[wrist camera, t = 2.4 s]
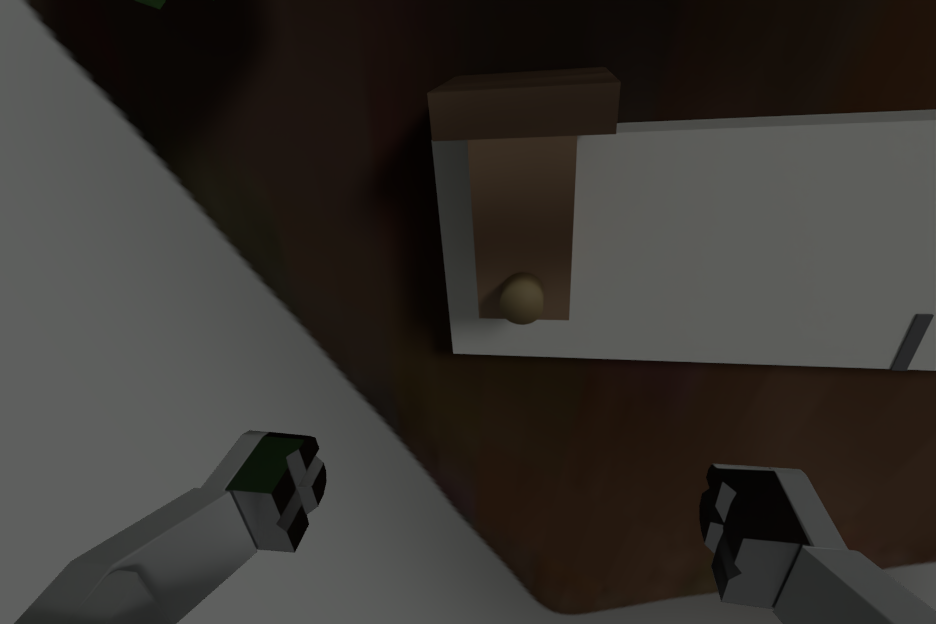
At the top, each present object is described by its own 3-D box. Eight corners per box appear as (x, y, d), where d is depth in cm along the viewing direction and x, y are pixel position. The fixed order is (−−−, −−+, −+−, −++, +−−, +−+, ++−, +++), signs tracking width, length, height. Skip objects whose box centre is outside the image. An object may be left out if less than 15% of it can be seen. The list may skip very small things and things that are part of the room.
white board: (440, 130, 22) (430, 140, 20) (1136, 100, 18) (1201, 109, 16) (459, 333, 28) (453, 354, 26) (990, 347, 23) (1026, 375, 21)
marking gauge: (456, 76, 20) (418, 98, 15) (604, 66, 19) (625, 86, 14) (469, 261, 25) (444, 333, 19) (591, 261, 24) (602, 338, 18)
